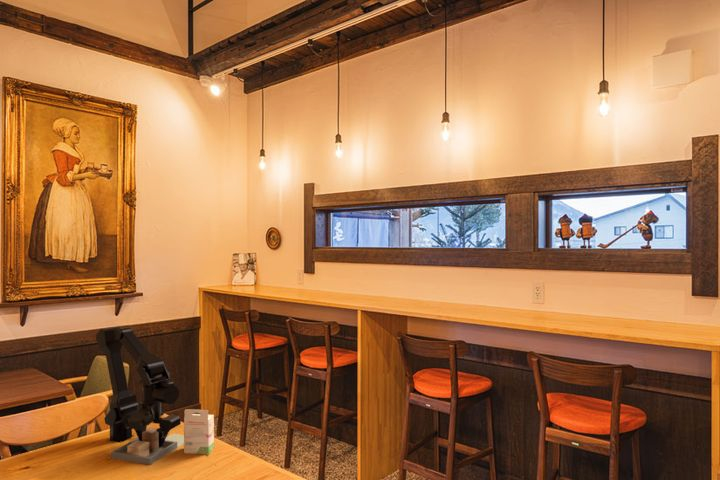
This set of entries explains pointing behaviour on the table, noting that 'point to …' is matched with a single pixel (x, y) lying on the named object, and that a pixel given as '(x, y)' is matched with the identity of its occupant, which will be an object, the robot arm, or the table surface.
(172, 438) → the sage tile
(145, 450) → the beech box
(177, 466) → the table surface
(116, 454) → the grey tray
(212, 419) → the ink box
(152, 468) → the table surface
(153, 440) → the walnut box
